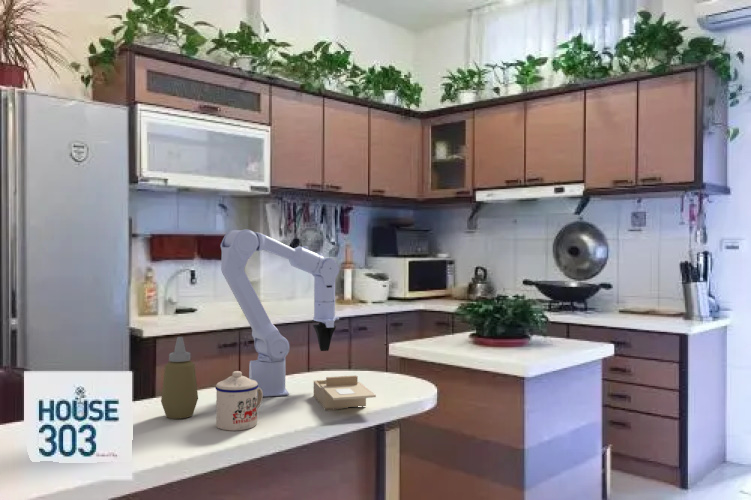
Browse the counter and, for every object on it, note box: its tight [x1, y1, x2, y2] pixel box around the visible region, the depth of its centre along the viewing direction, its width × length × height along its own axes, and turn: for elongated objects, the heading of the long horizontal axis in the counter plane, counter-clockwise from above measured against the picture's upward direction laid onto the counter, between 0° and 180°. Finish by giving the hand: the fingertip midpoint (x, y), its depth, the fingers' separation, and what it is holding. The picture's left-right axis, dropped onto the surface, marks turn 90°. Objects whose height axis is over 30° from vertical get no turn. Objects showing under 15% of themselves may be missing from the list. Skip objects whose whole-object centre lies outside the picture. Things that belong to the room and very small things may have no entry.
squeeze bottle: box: [160, 336, 199, 420], centre depth 144 cm, size 8×8×18 cm
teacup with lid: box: [214, 370, 263, 432], centre depth 138 cm, size 12×9×12 cm
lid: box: [320, 375, 377, 400], centre depth 150 cm, size 14×10×2 cm
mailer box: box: [313, 379, 367, 411], centre depth 158 cm, size 14×10×4 cm
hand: (324, 350), depth 174 cm, fingers closed
